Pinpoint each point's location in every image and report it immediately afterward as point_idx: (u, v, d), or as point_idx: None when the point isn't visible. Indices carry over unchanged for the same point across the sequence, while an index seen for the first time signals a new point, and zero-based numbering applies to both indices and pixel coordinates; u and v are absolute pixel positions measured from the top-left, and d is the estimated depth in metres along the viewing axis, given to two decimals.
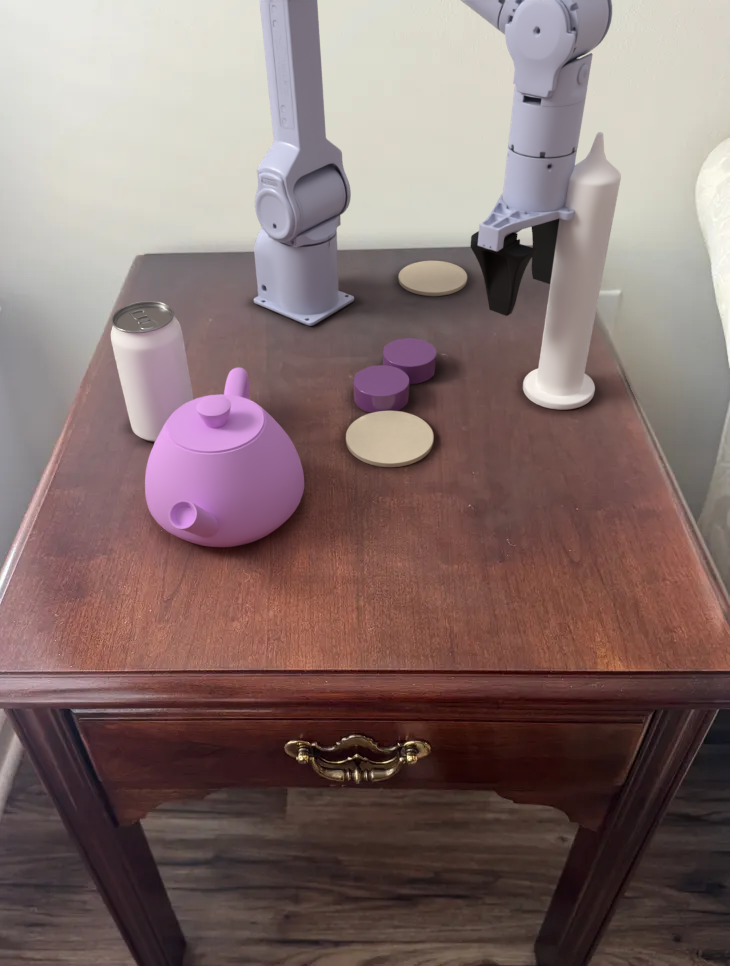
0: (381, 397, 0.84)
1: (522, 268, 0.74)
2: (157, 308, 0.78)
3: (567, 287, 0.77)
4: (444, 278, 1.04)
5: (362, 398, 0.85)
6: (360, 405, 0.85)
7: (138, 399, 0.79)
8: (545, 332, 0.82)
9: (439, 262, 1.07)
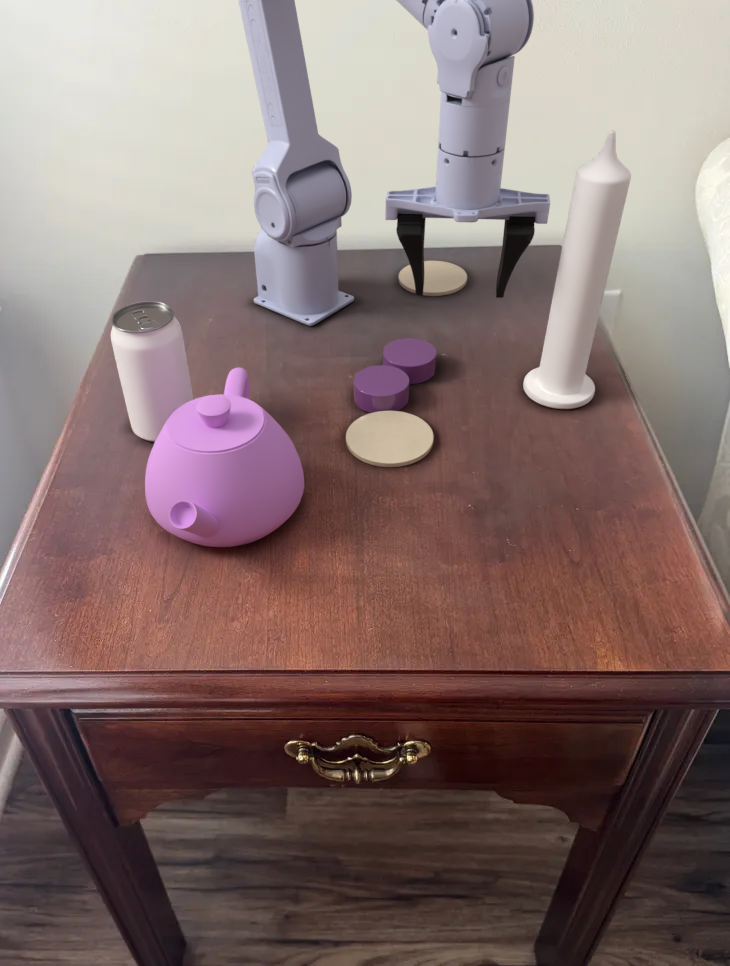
0: (381, 397, 0.84)
1: (413, 249, 0.78)
2: (157, 308, 0.78)
3: (573, 285, 0.77)
4: (444, 278, 1.04)
5: (362, 398, 0.85)
6: (360, 405, 0.85)
7: (138, 399, 0.79)
8: (548, 330, 0.82)
9: (439, 262, 1.07)
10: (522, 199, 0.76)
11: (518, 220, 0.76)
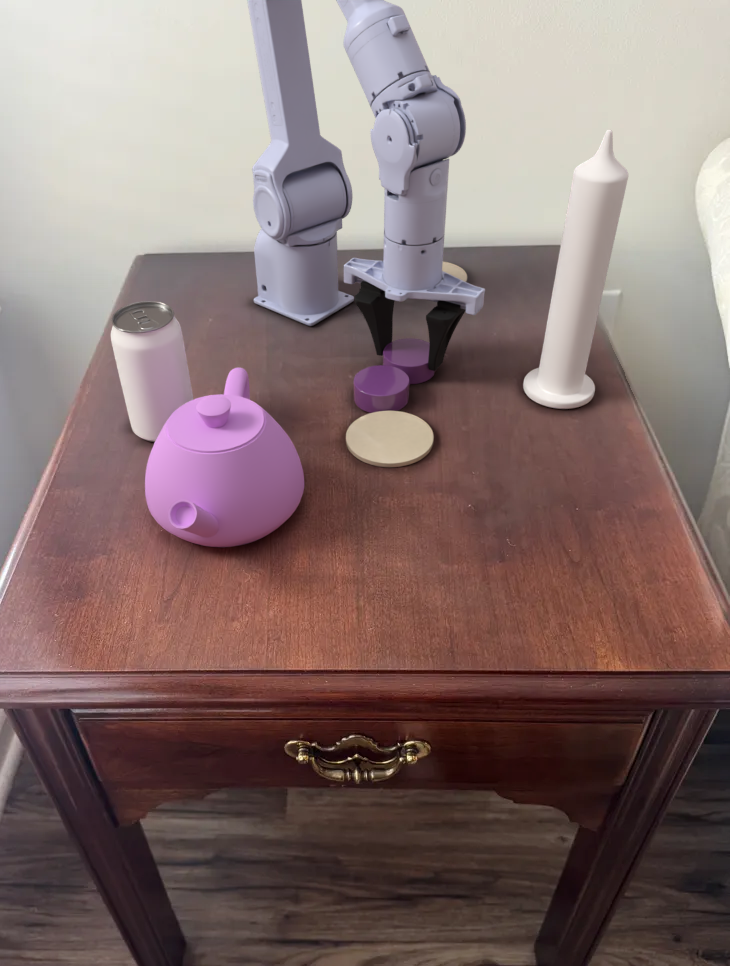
0: (381, 397, 0.84)
1: (369, 315, 0.86)
2: (157, 308, 0.78)
3: (571, 285, 0.77)
4: None
5: (362, 398, 0.85)
6: (360, 405, 0.85)
7: (138, 399, 0.79)
8: (547, 330, 0.82)
9: None
10: (457, 288, 0.81)
11: (444, 305, 0.83)
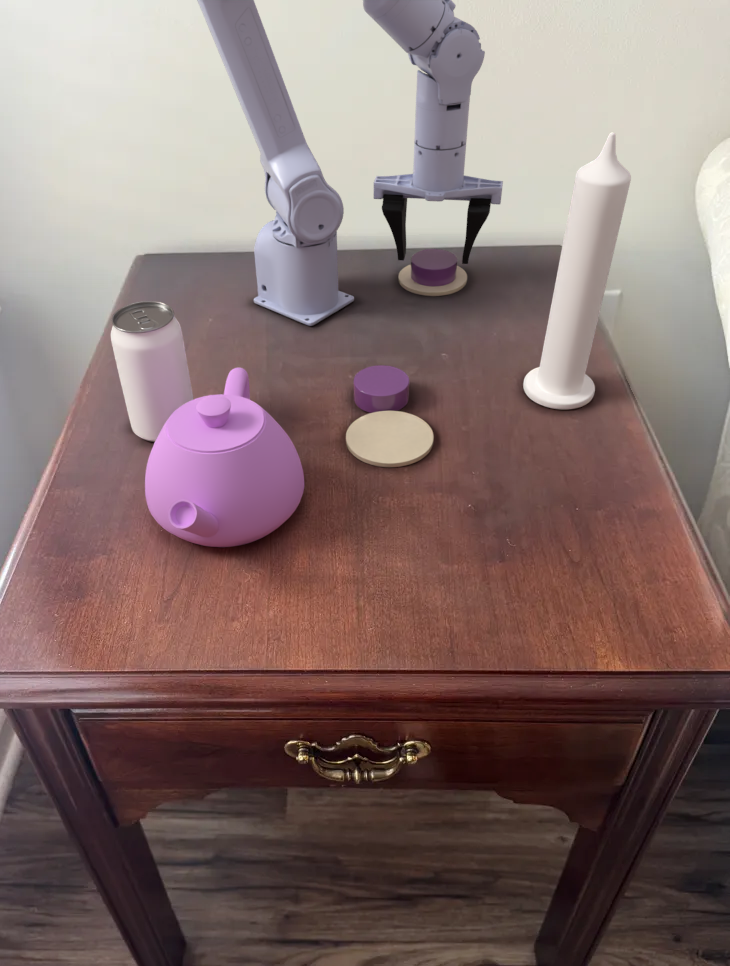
0: (381, 397, 0.84)
1: (395, 222, 0.99)
2: (157, 308, 0.78)
3: (572, 287, 0.77)
4: None
5: (362, 398, 0.85)
6: (360, 405, 0.85)
7: (138, 399, 0.79)
8: (548, 331, 0.82)
9: None
10: (481, 184, 0.96)
11: (477, 201, 0.97)
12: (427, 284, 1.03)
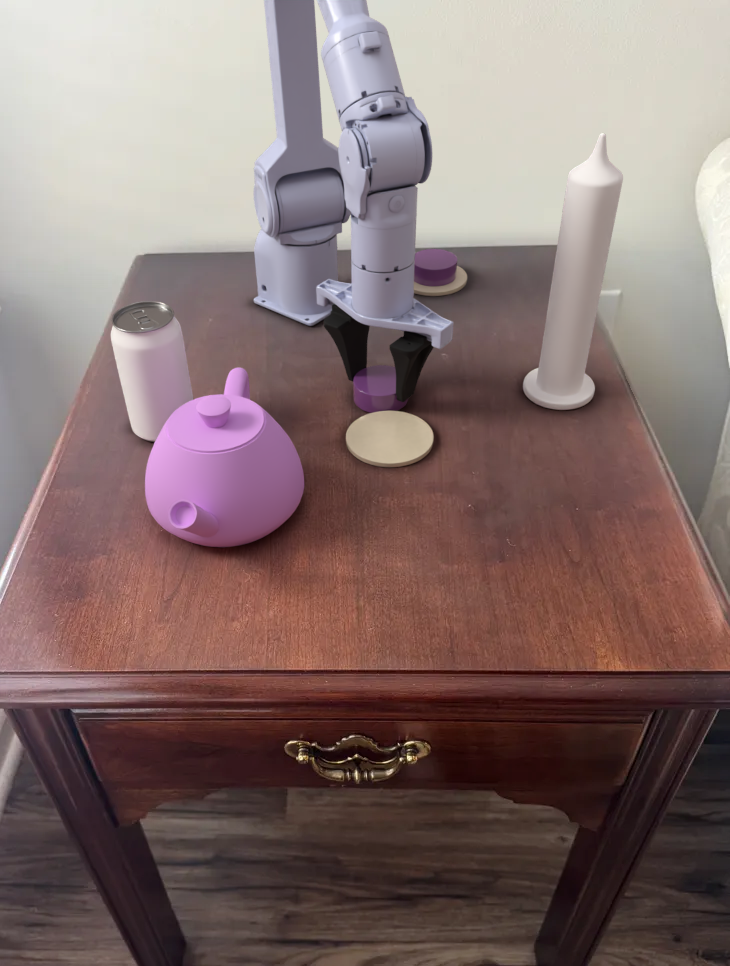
0: (381, 397, 0.84)
1: None
2: (157, 308, 0.78)
3: (567, 287, 0.77)
4: None
5: (362, 398, 0.85)
6: (360, 405, 0.85)
7: (138, 399, 0.79)
8: (545, 331, 0.82)
9: None
10: (342, 289, 0.82)
11: None
12: (427, 284, 1.03)
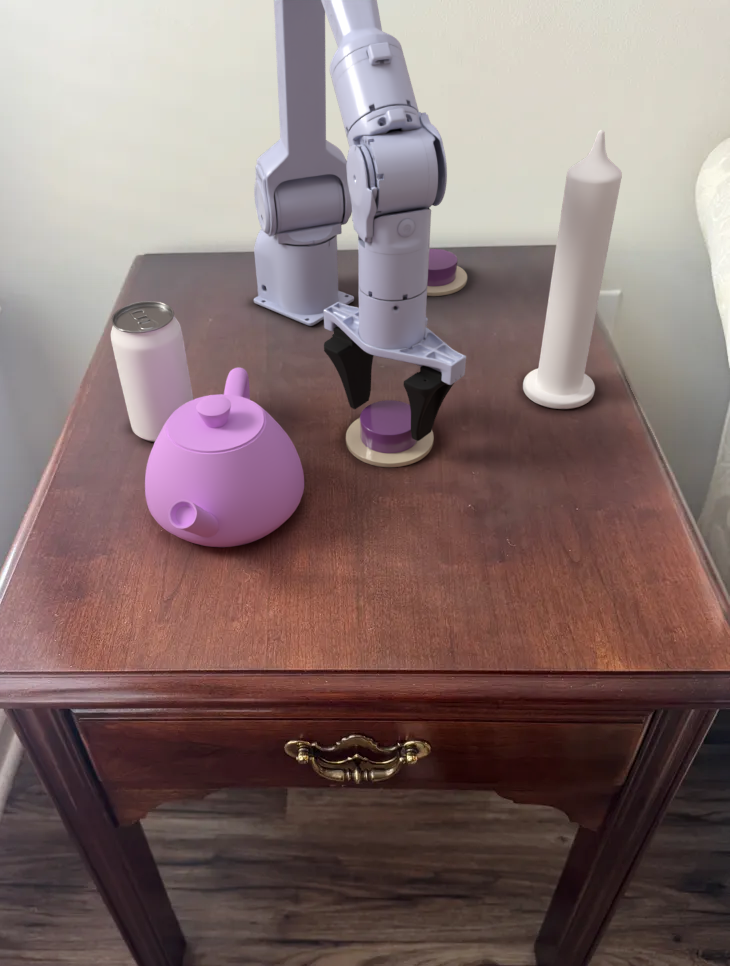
0: (387, 436, 0.78)
1: None
2: (157, 308, 0.78)
3: (566, 285, 0.77)
4: None
5: (368, 436, 0.79)
6: (366, 443, 0.80)
7: (138, 399, 0.79)
8: (545, 330, 0.82)
9: None
10: None
11: None
12: (427, 284, 1.03)
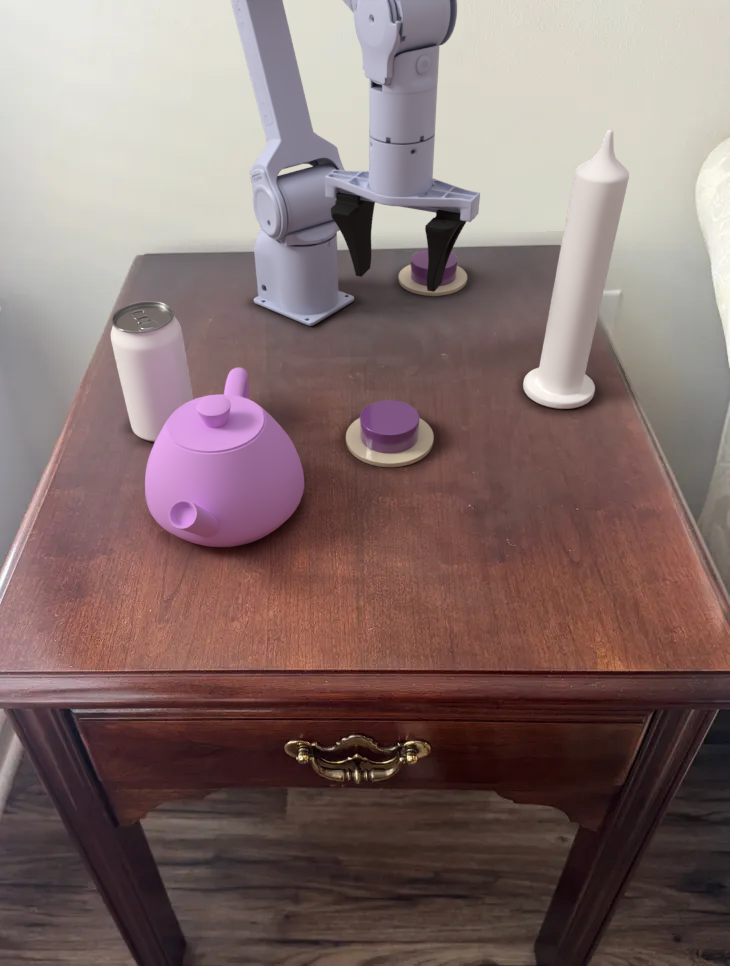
0: (387, 436, 0.78)
1: None
2: (157, 308, 0.78)
3: (570, 284, 0.77)
4: None
5: (368, 436, 0.79)
6: (366, 443, 0.80)
7: (138, 399, 0.79)
8: (547, 329, 0.82)
9: None
10: (353, 176, 0.79)
11: None
12: None
